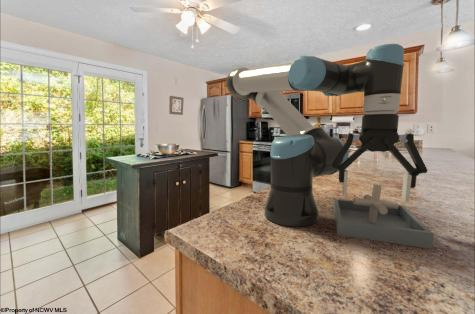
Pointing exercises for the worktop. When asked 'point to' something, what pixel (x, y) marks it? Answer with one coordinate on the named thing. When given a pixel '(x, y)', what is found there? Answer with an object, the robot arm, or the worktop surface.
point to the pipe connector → (375, 203)
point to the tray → (381, 225)
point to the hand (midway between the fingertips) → (373, 197)
